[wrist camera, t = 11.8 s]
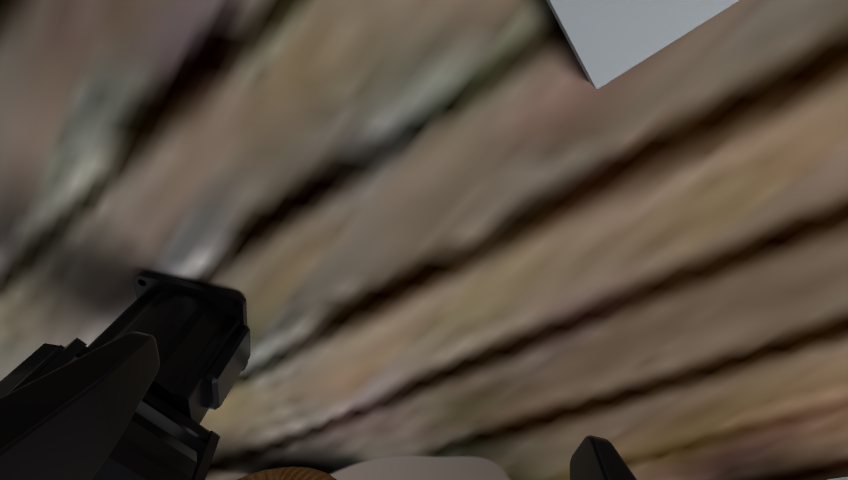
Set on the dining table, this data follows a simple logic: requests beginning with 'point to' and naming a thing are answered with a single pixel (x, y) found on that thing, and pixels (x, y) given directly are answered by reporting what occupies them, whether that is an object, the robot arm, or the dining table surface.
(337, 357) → the dining table surface
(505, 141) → the dining table surface
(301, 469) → the wooden carving
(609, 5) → the peg board
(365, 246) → the dining table surface
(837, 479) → the french press
